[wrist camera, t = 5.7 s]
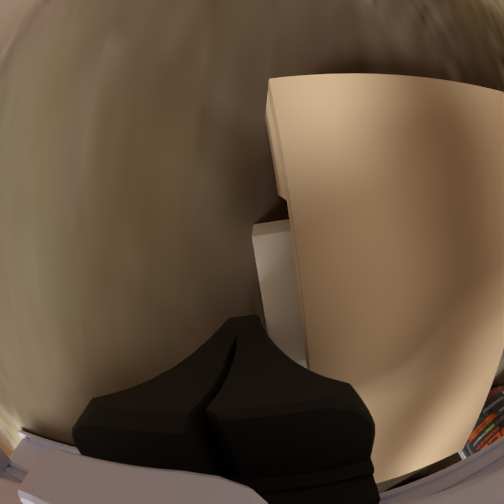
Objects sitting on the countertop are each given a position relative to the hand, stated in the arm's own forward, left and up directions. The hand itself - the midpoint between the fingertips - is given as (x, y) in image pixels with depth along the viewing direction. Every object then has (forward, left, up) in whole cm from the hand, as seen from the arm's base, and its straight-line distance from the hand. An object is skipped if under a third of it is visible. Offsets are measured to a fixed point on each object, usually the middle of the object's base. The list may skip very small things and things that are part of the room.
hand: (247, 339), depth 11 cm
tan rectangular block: (+6, 0, -1) cm, 6 cm away
